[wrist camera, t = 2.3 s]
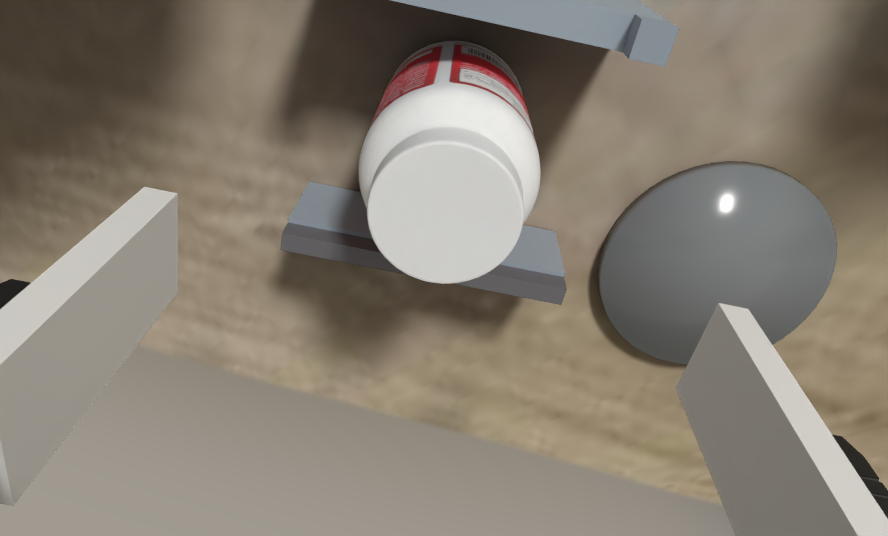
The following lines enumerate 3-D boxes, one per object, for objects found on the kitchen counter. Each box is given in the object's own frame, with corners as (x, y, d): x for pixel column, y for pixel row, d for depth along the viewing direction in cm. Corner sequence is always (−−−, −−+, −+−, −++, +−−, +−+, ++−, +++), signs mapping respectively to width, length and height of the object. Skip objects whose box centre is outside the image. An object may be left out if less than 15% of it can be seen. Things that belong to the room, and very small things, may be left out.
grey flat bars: (307, 204, 31) (266, 278, 25) (336, -71, 25) (291, -61, 19) (548, 252, 32) (565, 336, 26) (631, -3, 26) (679, 27, 20)
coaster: (570, 334, 34) (572, 343, 34) (643, 138, 29) (647, 145, 28) (766, 371, 35) (772, 381, 34) (873, 188, 30) (883, 195, 29)
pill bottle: (390, 176, 30) (351, 306, 21) (378, 40, 27) (326, 118, 18) (523, 173, 30) (546, 304, 20) (527, 35, 27) (555, 112, 17)
